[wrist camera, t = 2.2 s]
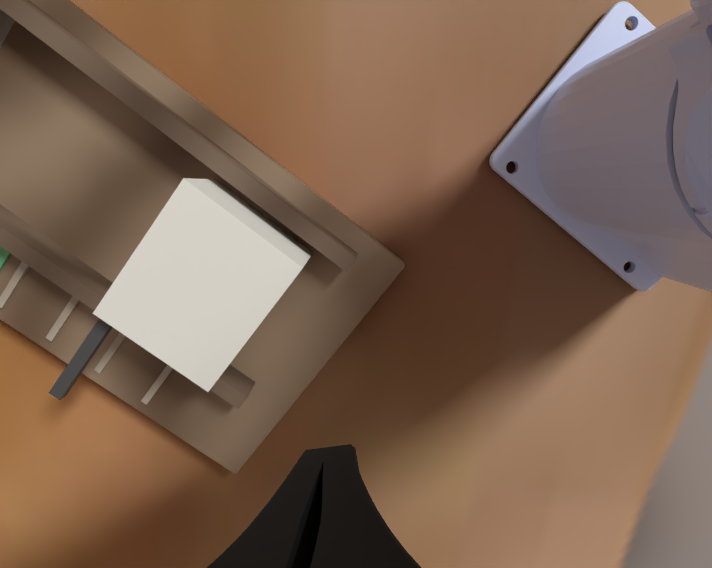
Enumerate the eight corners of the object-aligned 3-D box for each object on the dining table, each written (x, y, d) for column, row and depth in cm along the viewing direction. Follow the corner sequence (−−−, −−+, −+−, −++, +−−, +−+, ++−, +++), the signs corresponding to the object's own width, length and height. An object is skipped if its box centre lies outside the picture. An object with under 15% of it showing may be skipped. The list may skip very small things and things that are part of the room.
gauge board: (403, 260, 20) (417, 286, 15) (241, 459, 23) (208, 538, 18) (-31, -78, 18) (-188, -183, 13) (-165, 188, 20) (-344, 190, 15)
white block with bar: (312, 252, 19) (302, 268, 16) (180, 426, 21) (145, 473, 18) (215, 179, 18) (183, 178, 15) (87, 365, 20) (33, 401, 17)
